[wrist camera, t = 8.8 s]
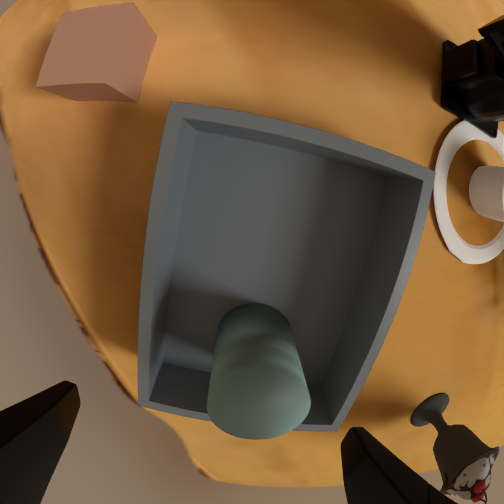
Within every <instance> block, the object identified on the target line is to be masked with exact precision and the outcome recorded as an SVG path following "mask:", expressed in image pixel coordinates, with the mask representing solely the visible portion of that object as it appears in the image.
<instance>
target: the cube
mask: <svg viewBox="0 0 504 504" xmlns="http://www.w3.org/2000/svg"><path fill="white" fill-rule="evenodd" d="M156 38H157V36H156V34H155V33H154V31H153V30H152V28H151V27H150V25H149V24H148V22H147V21H146V20H145V18H144V17H143V15H142V14H141V12H140V11H139V10H138V8H137V7H136V5H135V4H134V3H124V4H114V5H106V6H99V7H92V8H86V9H81V10H75V11H70V12H66V13H62V15H61V17H60V20H59V22H58V24H57V26H56V29H55V31H54V34H53V36H52V39H51V41H50V44H49V47H48V49H47V52H46V55H45V58H44V61H43V64H42V67H41V70H40V73H39V77H38V80H37V83H36V87H37V88H40V89H43V90H46V91H49V92H52V93H55V94H58V95H61V96H64V97H67V98H69V99H72V100H75V101H121V102H138V98H139V95H140V91H141V87H142V83H143V80H144V76H145V73H146V69H147V66H148V63H149V59H150V56H151V53H152V50H153V47H154V44H155V41H156Z"/></svg>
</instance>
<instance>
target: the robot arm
mask: <svg viewBox="0 0 504 504" xmlns="http://www.w3.org/2000/svg"><path fill="white" fill-rule="evenodd" d="M478 31H479V33H480V34H481V36H482V37H484V39H481V40H479V41H476V40H474V39H473V40H470V41H468V42H466V43H464V44H462V45H460V46H457V45H456V44H454V43H452V42H451V41H449V40H446V41H444V42H443V54H442V91H441V105H442V107H443V108H444V109H446V110H447V111H449V112H451V113H453V114H454V115H456V116H458V117H459V118H461V119H463V120H465V121H467V122H469V123H470V124H472V125H473V126H475V127H476V128H478V129H479V130H481V131H482V132H483V133H485V134H486V135H488V136H489V137H491V138H496V137H497V132H498V121H504V15H503V16H501V17H499V18H497V19H495V20H493V21H491V22H490V23H488V24H486V25H485V26H483V27H481V28H479V29H478ZM448 45H449V46H448ZM446 101H447V102H448V105H447V103H446ZM492 130H493V133H492ZM79 408H80V397H79V393H78V388H77V386H76V384H74V383H72V382H69V381H62V382H61V383H58V384H56V385H54V386H52V387H50V388H48V389H46V390H44V391H42V392H40V393H38V394H36V395H34V396H32V397H29V398H27V399H25V400H23V401H21V402H19V403H17V404H15V405H13V406H10V407H9V408H6V409H4V410H2V411H0V504H40V503H41V501H42V498H43V496H44V494H45V491H46V489H47V486H48V484H49V482H50V479H51V477H52V475H53V473H54V470H55V468H56V466H57V464H58V461H59V459H60V457H61V455H62V453H63V451H64V449H65V446H66V444H67V442H68V439H69V436H70V434H71V431H72V428H73V425H74V422H75V419H76V416H77V414H78V411H79ZM341 457H342V468H343V480H344V487H345V492H346V497H347V502H348V504H457V503H456V502H454V501H453V500H451V499H450V498H448V497H447V496H445V495H444V494H442V493H441V492H440V491H438V490H437V489H436V488H434V487H433V486H432V485H431V484H428V482H427V481H425V480H424V479H423V478H422V477H421V476H419V475H418V474H417V473H416V472H414V471H413V470H412V469H411V468H410V467H408V466H407V465H406V464H405V463H404V462H402V461H401V460H400V459H399V458H398V457H396V456H395V455H394V454H393V453H392V452H391V451H389V450H388V449H387V448H386V447H385V446H384V445H382V444H381V443H380V442H379V441H378V440H377V439H376V438H374V437H373V436H372V435H371V434H370V433H369V432H368V431H367V430H365V429H364V428H363V427H352V428H350V429H349V431H348V432H347V434H346V436H345V437H344V439H343V441H342V443H341Z"/></svg>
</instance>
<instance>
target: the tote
mask: <svg viewBox="0 0 504 504" xmlns="http://www.w3.org/2000/svg"><path fill="white" fill-rule="evenodd" d="M435 175H436V172H435V171H433V170H430V169H428V168H426V167H423V166H421V165H419V164H416V163H414V162H411V161H409V160H407V159H404V158H401V157H399V156H396V155H394V154H391V153H388V152H386V151H383V150H380V149H377V148H375V147H372V146H369V145H366V144H363V143H360V142H357V141H354V140H351V139H348V138H345V137H341V136H338V135H335V134H332V133H328V132H325V131H321V130H318V129H314V128H310V127H307V126H303V125H299V124H295V123H291V122H287V121H283V120H278V119H274V118H270V117H265V116H260V115H256V114H251V113H245V112H240V111H235V110H229V109H223V108H217V107H210V106H204V105H196V104H189V103H181V102H170V106H169V110H168V114H167V118H166V122H165V127H164V131H163V136H162V141H161V145H160V150H159V155H158V160H157V166H156V171H155V177H154V182H153V188H152V195H151V201H150V208H149V215H148V222H147V230H146V238H145V246H144V256H143V266H142V277H141V290H140V305H139V326H138V405H140V406H143V407H147V408H151V409H155V410H159V411H163V412H167V413H171V414H176V415H180V416H185V417H190V418H195V419H200V420H206V421H212V420H211V419H210V417H209V415H208V412H207V399H208V392H209V385H210V378H211V371H212V364H213V357H214V350H215V344H216V337H217V330H218V326H219V324H220V322H221V320H222V319H223V317H224V316H225V315H226V314H227V313H228V312H229V311H231V310H232V309H234V308H236V307H238V306H241V305H244V304H250V303H260V304H265V305H269V306H272V307H274V308H276V309H277V310H279V311H280V312H281V313H282V314H283V315H284V316H285V317H286V319H287V320H288V322H289V324H290V328H291V331H292V335H293V338H294V342H295V345H296V349H297V352H298V356H299V359H300V363H301V366H302V370H303V373H304V377H305V380H306V384H307V388H308V391H309V395H310V399H311V406H310V410H309V413H308V415H307V416H306V418H305V419H304V420H303V422H302V423H301V424H300V425H298V426H297V427H296V428H294V429H293V430H296V431H338V429H339V428H340V426H341V424H342V423H343V421H344V419H345V418H346V416H347V414H348V412H349V411H350V409H351V407H352V405H353V403H354V402H355V400H356V398H357V396H358V394H359V392H360V390H361V388H362V386H363V384H364V383H365V381H366V379H367V377H368V375H369V372H370V370H371V368H372V366H373V364H374V362H375V360H376V358H377V356H378V353H379V351H380V349H381V347H382V345H383V342H384V340H385V338H386V335H387V333H388V331H389V328H390V326H391V323H392V321H393V318H394V316H395V313H396V311H397V308H398V306H399V303H400V300H401V298H402V295H403V292H404V289H405V286H406V284H407V281H408V278H409V275H410V272H411V269H412V265H413V262H414V259H415V256H416V253H417V249H418V246H419V242H420V239H421V235H422V231H423V228H424V224H425V220H426V216H427V212H428V208H429V203H430V199H431V194H432V190H433V185H434V180H435Z"/></svg>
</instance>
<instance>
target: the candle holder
mask: <svg viewBox="0 0 504 504" xmlns="http://www.w3.org/2000/svg"><path fill="white" fill-rule="evenodd" d="M492 133H493V130H492ZM475 139H478V140H483V141H486V142H488V143H489V144H491V145H492V146H493V147H494V148H495V149H496V150H497V151H498V153H499V154H500V156H501V157H502V159H503V161H504V135H503V134H502V132H501V131H500V130H499V129H498V132H497V137H496V138H491V137H489V136H488V135H486V134H485V133H483V132H482V131H481V130H479V129H478V128H476V127H475V126H473V125H472V124H470V123H469V122H467V121H465V120H464V121H461V122H460V123H458V124H457V125H456V126H454V127H453V128H452V129H451V131H450V132H449V133H448V135H447V136H446V138H445V140H444V141H443V143H442V146H441V148H440V151H439V154H438V157H437V161H436V166H435V172H436V175H435V180H434V185H433V195H434V207H435V213H436V218H437V222H438V226H439V229H440V231H441V234H442V236H443V239H444V241H445V243H446V245H447V247H448V249H449V251H450V252H451V253H453V254H454V255H455V256H456V257H457V258H459V259H460V260H461V261H462V262H463V263H468V264H482V263H485V262H488V261H490V260H492V259H493V258H495V257H496V256H497V255H499V254H500V253H501V252H502V250H503V249H504V225H503V227H502V229H501V230H500V232H499V233H498V234H497V236H496V237H495V238H494V239H493V240H491V241H490V242H488V243H486V244H484V245H479V246H475V245H471V244H468V243H467V242H465V241H464V240H463V239H462V238H461V237H460V236H459V235H458V234H457V232H456V231H455V229H454V227H453V225H452V222H451V220H450V216H449V213H448V208H447V200H446V184H447V176H448V171H449V167H450V164H451V161H452V159H453V157H454V155H455V153H456V152H457V150H458V149H459V148H460V147H461V146H462V145H463V144H464V143H466V142H468V141H470V140H475ZM469 198H470V202H471V205H472V207H473V209H474V210H475V212H476V213H478V214H479V215H481V216H483V217H487V218H490V219H494V220H498V221H501V222H504V167H497V166H480V167H478V168H477V169H476V170H475V171H474V172H473V174H472V176H471V179H470V183H469Z"/></svg>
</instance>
